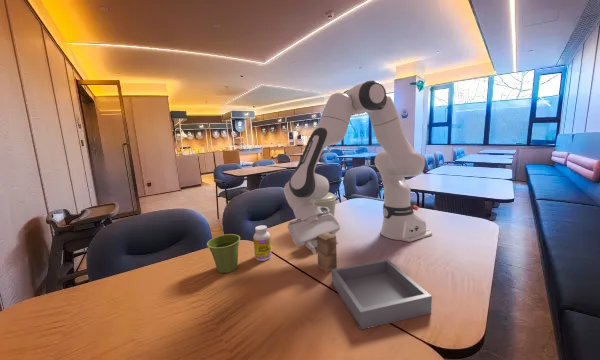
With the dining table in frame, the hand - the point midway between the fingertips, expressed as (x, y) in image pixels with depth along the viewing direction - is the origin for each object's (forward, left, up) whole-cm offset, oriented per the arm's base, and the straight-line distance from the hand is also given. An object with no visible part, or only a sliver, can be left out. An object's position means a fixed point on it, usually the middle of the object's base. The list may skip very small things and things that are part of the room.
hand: (326, 248), depth 87 cm
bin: (-8, +20, -7) cm, 23 cm away
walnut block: (0, 0, -7) cm, 7 cm away
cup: (-1, -17, -7) cm, 18 cm away
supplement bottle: (+22, -15, -7) cm, 28 cm away
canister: (-9, -37, -7) cm, 39 cm away
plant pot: (+36, -11, -7) cm, 38 cm away
